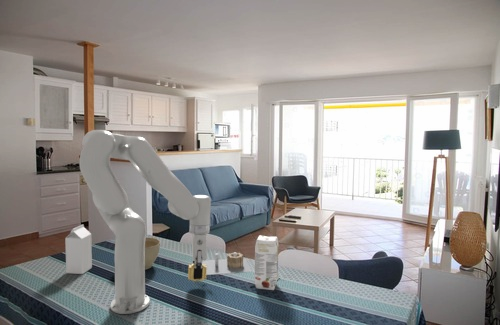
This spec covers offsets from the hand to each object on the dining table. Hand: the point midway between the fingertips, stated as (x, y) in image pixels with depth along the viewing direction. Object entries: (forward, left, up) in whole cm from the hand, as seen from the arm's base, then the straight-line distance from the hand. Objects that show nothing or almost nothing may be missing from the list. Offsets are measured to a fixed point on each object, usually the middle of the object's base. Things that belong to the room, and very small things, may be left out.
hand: (197, 274), depth 128 cm
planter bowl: (+24, +23, -5) cm, 34 cm away
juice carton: (-4, -26, -5) cm, 27 cm away
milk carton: (+24, +48, -5) cm, 54 cm away
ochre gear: (0, 0, -1) cm, 1 cm away
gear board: (+15, -13, -5) cm, 21 cm away
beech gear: (+15, -17, -4) cm, 23 cm away
